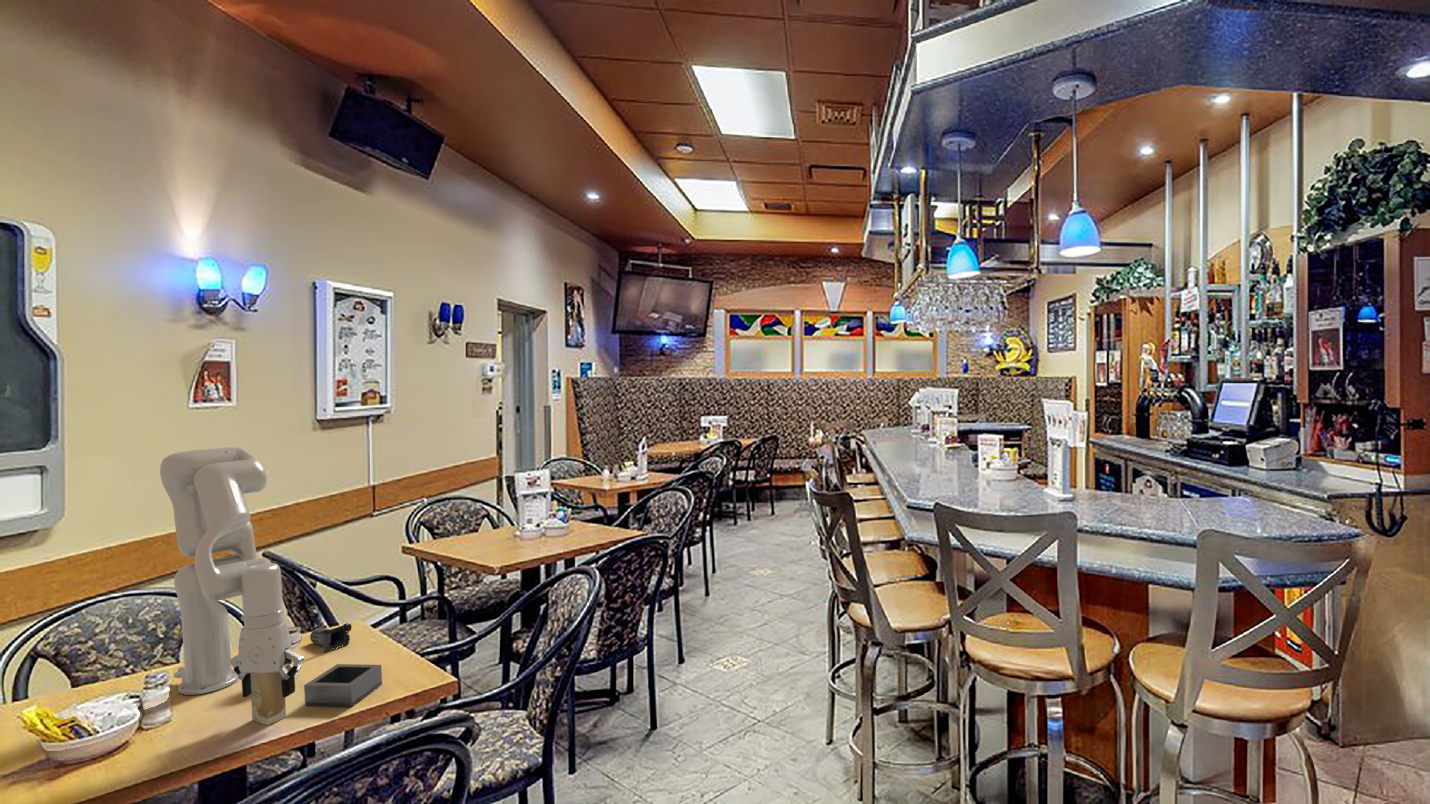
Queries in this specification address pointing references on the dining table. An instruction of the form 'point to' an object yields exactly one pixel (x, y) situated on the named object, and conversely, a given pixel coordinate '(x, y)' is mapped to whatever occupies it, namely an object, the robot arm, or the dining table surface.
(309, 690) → the rectangular box socket
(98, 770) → the dining table surface
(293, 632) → the wineglass
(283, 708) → the skincare box
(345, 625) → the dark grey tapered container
